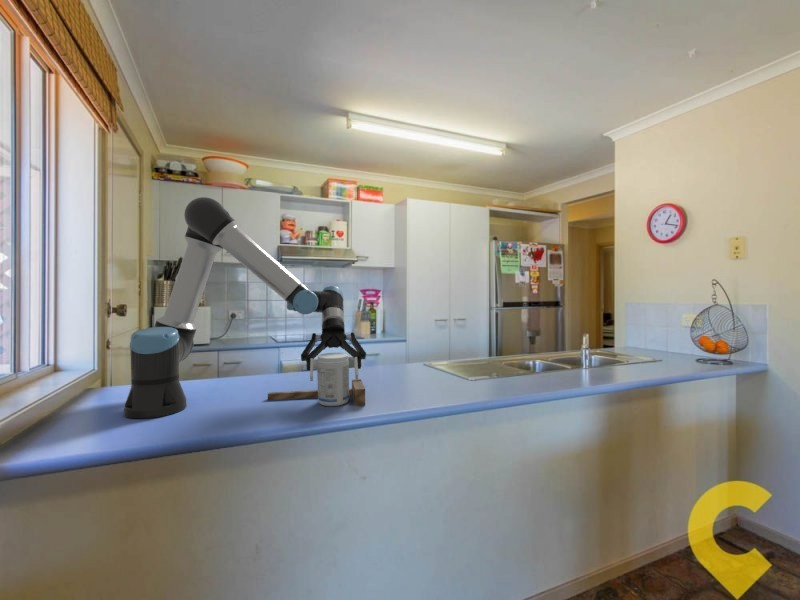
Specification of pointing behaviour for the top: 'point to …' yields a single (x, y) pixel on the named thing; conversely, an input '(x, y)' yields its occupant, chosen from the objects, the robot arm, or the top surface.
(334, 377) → the supplement tub
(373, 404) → the top surface
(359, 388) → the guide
